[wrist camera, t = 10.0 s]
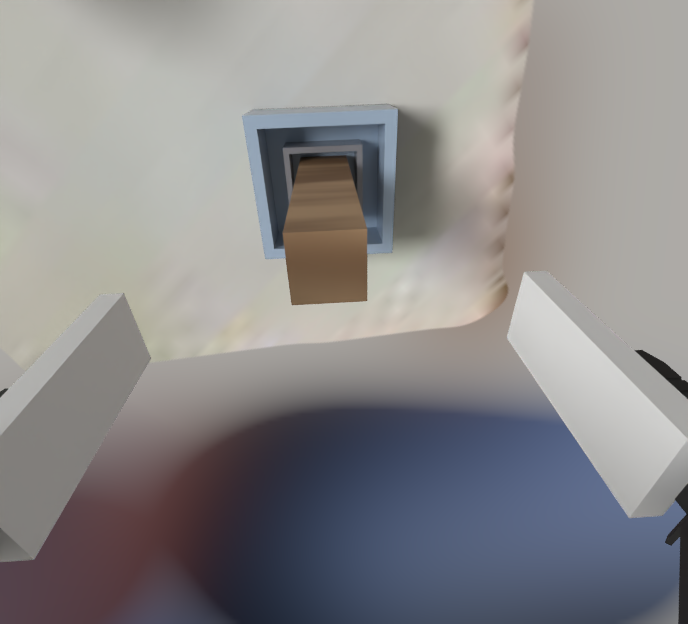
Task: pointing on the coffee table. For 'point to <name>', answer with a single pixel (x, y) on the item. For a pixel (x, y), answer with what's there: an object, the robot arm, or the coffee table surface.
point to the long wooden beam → (325, 234)
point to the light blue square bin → (323, 140)
